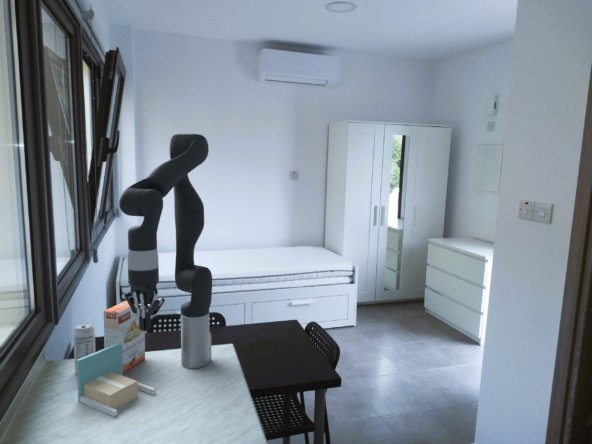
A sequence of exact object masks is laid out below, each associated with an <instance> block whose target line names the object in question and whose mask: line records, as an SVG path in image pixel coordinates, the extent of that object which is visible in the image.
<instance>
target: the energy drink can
mask: <svg viewBox="0 0 592 444" xmlns="http://www.w3.org/2000/svg"><path fill="white" fill-rule="evenodd" d="M72 335H73V337H72V338H73V353H74V355H73V356H74V372H75V373H77V361H76V360H78V359H80V358H82V357H85V356H87V355H90V354H92V353H95V352H96V332H95V328H94V326H93V324H92V323H90V322H89V323H88V322H86V323H80V324H77V325H76V326H75V327H74V330H73V333H72Z"/></svg>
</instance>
